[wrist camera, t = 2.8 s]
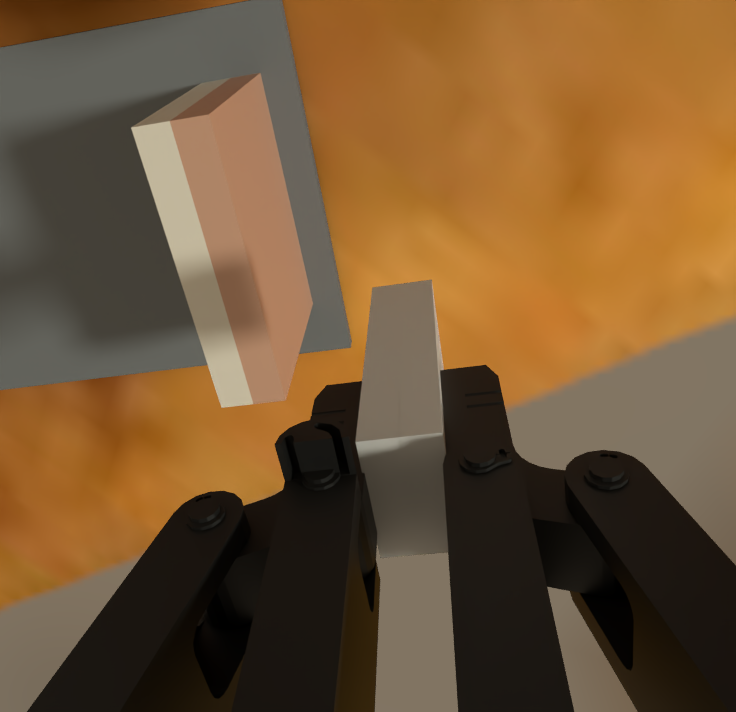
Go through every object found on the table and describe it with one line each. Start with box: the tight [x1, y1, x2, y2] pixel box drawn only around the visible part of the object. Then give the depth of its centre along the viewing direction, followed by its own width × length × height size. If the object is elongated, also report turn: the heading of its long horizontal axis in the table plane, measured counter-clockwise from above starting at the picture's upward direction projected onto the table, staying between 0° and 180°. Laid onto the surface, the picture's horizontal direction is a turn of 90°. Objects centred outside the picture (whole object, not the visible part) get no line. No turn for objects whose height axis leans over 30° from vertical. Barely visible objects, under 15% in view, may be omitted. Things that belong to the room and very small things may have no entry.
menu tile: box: [131, 73, 313, 408], centre depth 26 cm, size 10×2×8 cm, turn 10°
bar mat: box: [0, 0, 352, 390], centre depth 31 cm, size 15×18×1 cm
